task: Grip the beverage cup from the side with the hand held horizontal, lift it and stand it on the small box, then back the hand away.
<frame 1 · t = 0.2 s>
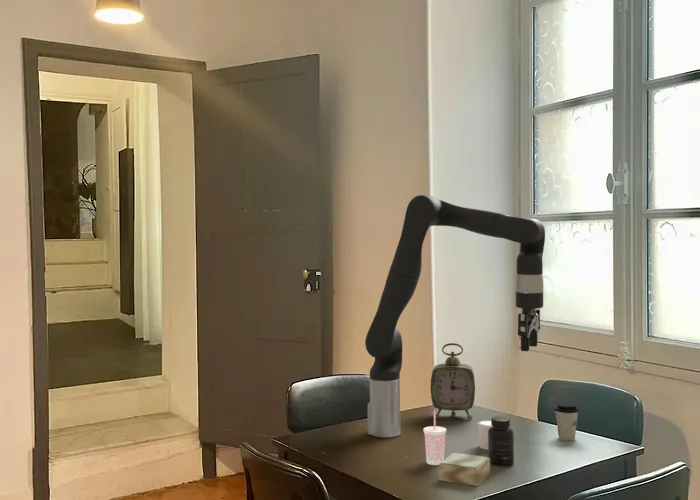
hand: (529, 348, 202), 29 cm above the table, tool pointing down, fingers open, 8 cm apart
supplement bottle: (501, 463, 193), on the table
tabletop clock: (453, 418, 243), on the table
small box: (464, 476, 182), on the table
beverage cup: (435, 463, 195), on the table
white cup: (489, 447, 208), on the table
coffee cup: (566, 439, 216), on the table
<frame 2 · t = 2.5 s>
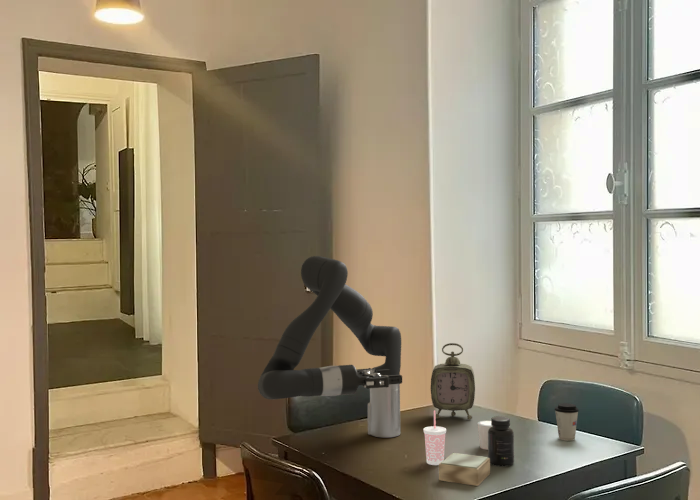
hand: (395, 376, 191), 24 cm above the table, tool horizontal, fingers open, 8 cm apart
nothing on the table moved.
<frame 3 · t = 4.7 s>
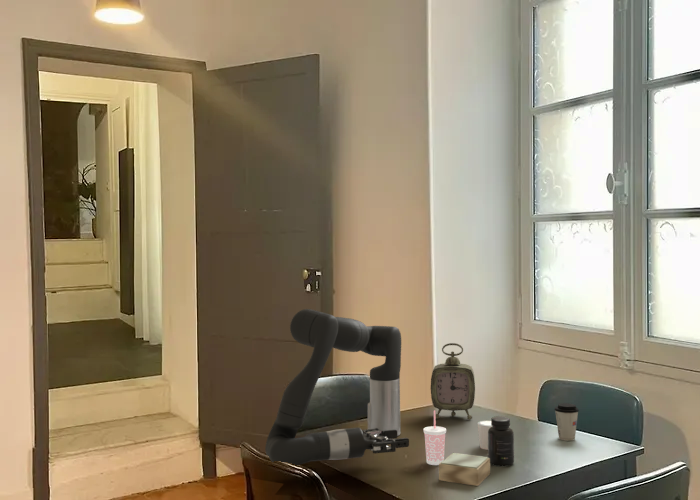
hand: (402, 437, 192), 7 cm above the table, tool horizontal, fingers open, 8 cm apart
nothing on the table moved.
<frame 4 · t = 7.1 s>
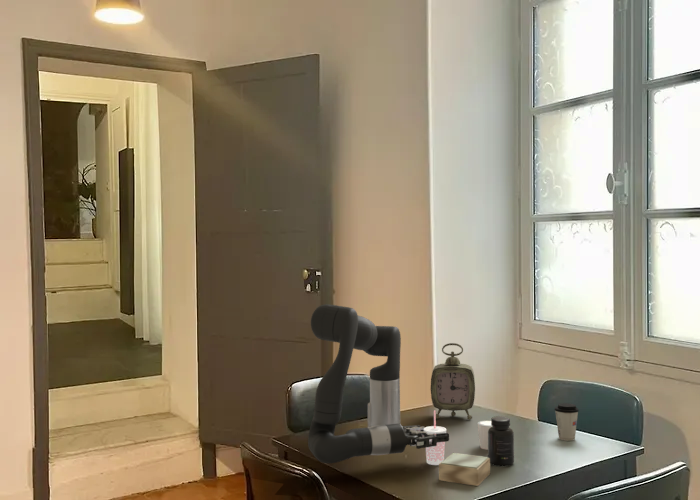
hand: (443, 433, 195), 8 cm above the table, tool horizontal, fingers closed on beverage cup, 6 cm apart
beverage cup: (435, 463, 195), on the table, touching gripper
everything else where it was.
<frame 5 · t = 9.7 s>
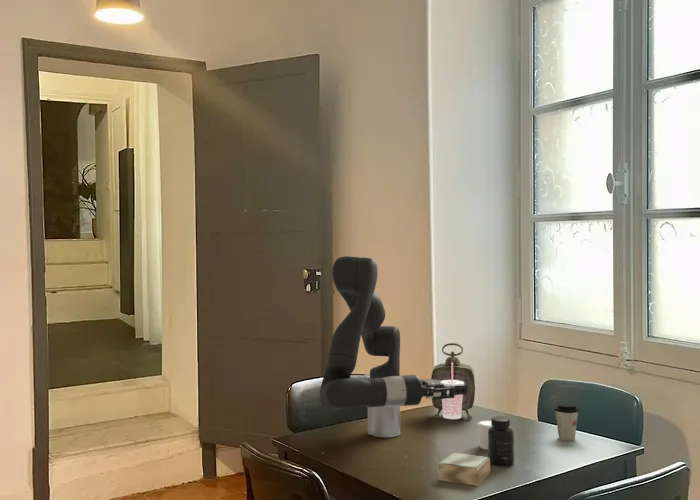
hand: (460, 387, 186), 22 cm above the table, tool horizontal, fingers closed on beverage cup, 6 cm apart
beverage cup: (452, 417, 186), point 14 cm above the table, touching gripper
everything else where it was.
when the fingers open (13 cm above the table, at t = 12.2 s): beverage cup stays where it is, resting on small box.
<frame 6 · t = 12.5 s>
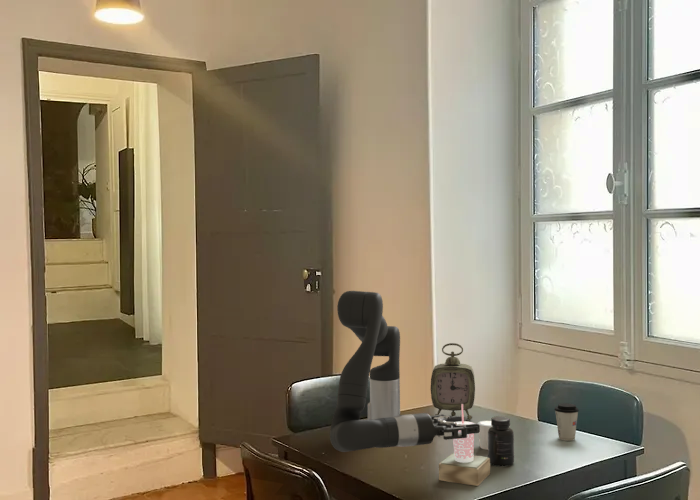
hand: (471, 423, 183), 13 cm above the table, tool horizontal, fingers open, 8 cm apart
beverage cup: (464, 460, 182), point 4 cm above the table, touching small box
everything else where it was.
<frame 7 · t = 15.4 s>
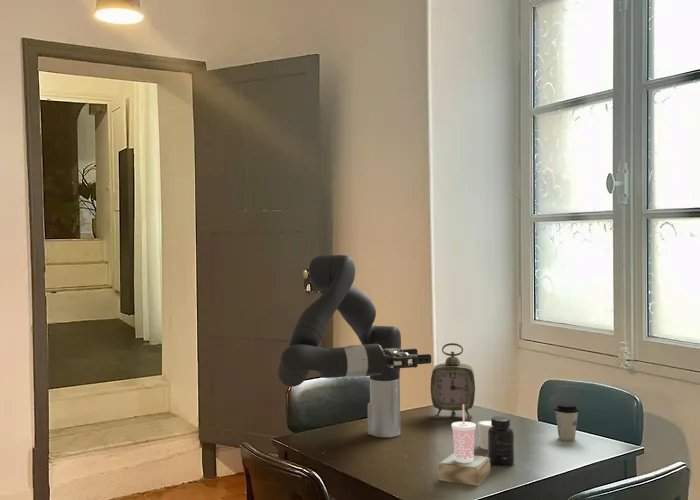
hand: (423, 355, 179), 31 cm above the table, tool horizontal, fingers open, 8 cm apart
nothing on the table moved.
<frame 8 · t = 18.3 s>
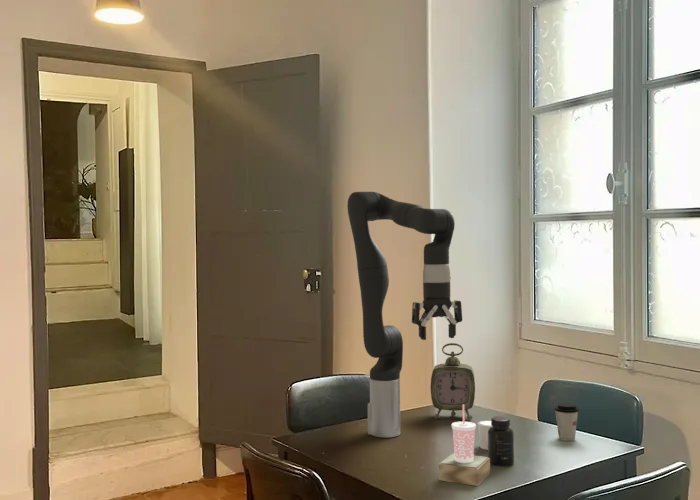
hand: (437, 338, 202), 32 cm above the table, tool pointing down, fingers open, 8 cm apart
nothing on the table moved.
at the end: beverage cup inside the target area on the small box (0.2 cm from its centre), point 4.1 cm above the small box's base; beverage cup tilted 0°; the gripper is holding nothing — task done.
